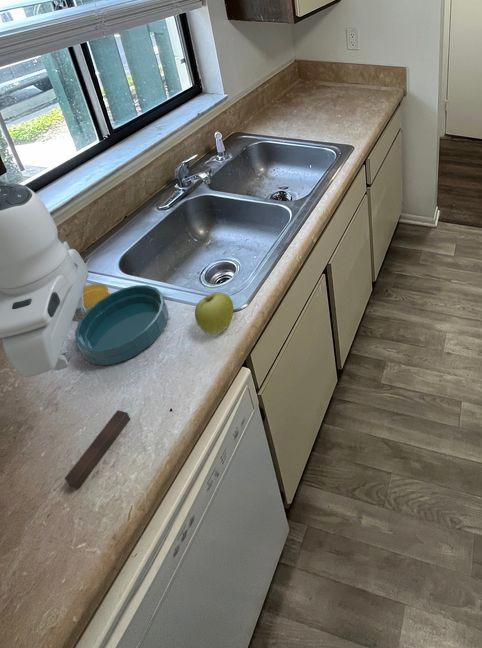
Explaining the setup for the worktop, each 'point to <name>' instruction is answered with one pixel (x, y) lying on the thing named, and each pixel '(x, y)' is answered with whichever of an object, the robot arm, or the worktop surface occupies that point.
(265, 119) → the worktop surface
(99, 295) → the bread roll
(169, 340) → the worktop surface
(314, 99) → the worktop surface
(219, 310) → the apple
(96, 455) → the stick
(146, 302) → the bowl
